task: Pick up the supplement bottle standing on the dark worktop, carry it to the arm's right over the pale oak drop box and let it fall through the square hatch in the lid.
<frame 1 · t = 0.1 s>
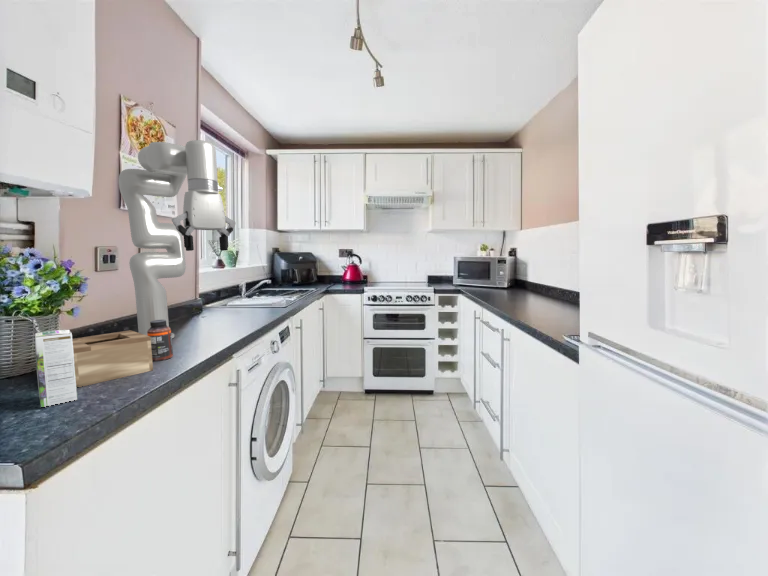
hand: (207, 250, 104), 31 cm above the countertop, tool pointing down, fingers open, 9 cm apart
syrup box: (59, 401, 77), on the countertop
supplement bottle: (161, 359, 109), on the countertop
drop box: (107, 373, 96), on the countertop
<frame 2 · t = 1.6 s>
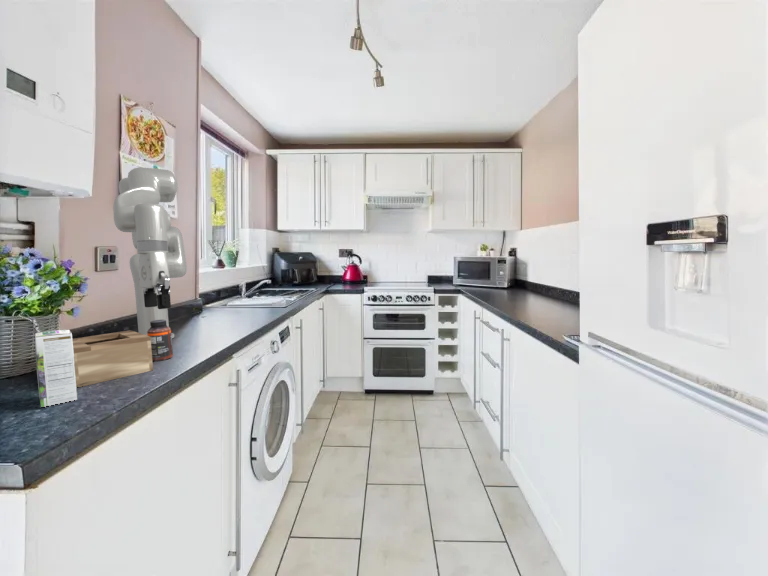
hand: (157, 307, 107), 15 cm above the countertop, tool pointing down, fingers open, 9 cm apart
nothing on the countertop moved.
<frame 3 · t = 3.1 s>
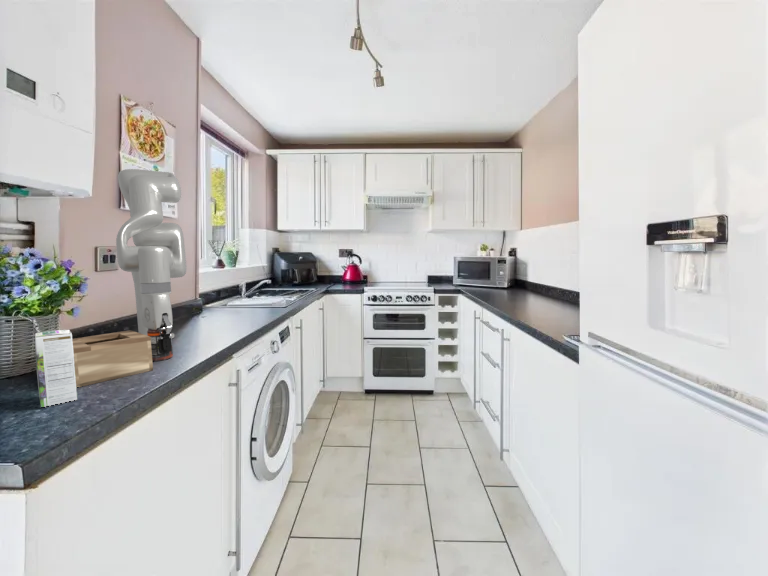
hand: (160, 349, 109), 3 cm above the countertop, tool pointing down, fingers closed on supplement bottle, 6 cm apart
supplement bottle: (161, 359, 109), on the countertop, touching gripper
everything else where it was.
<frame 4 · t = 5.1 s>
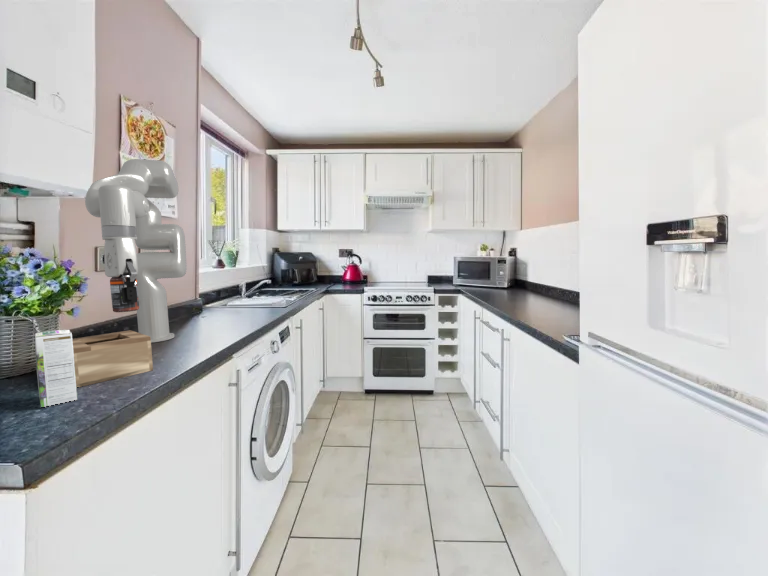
hand: (125, 301, 99), 18 cm above the countertop, tool pointing down, fingers closed on supplement bottle, 6 cm apart
supplement bottle: (126, 311, 99), point 15 cm above the countertop, touching gripper
everything else where it was.
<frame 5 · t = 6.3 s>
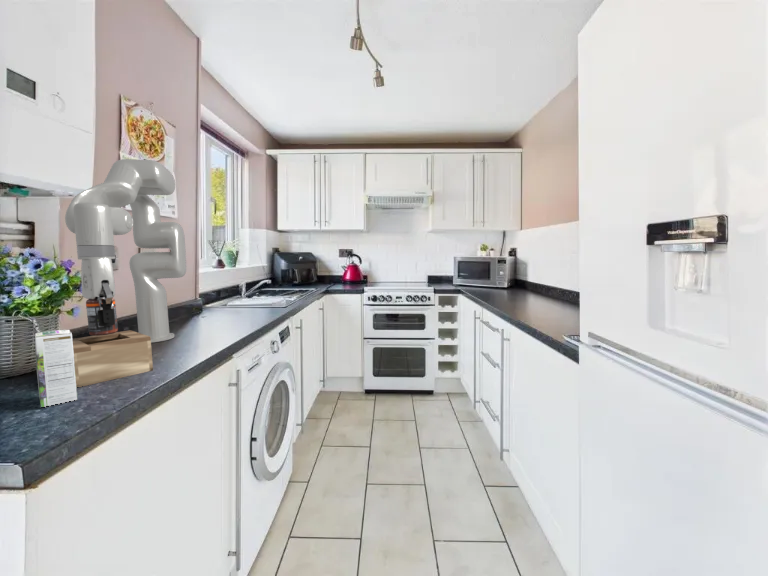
hand: (102, 323, 95), 13 cm above the countertop, tool pointing down, fingers closed on supplement bottle, 6 cm apart
supplement bottle: (103, 334, 95), point 10 cm above the countertop, touching gripper
everything else where it was.
when the fingers open (10 cm above the countertop, at t = 7.3 s): supplement bottle drops 6 cm, resting on drop box.
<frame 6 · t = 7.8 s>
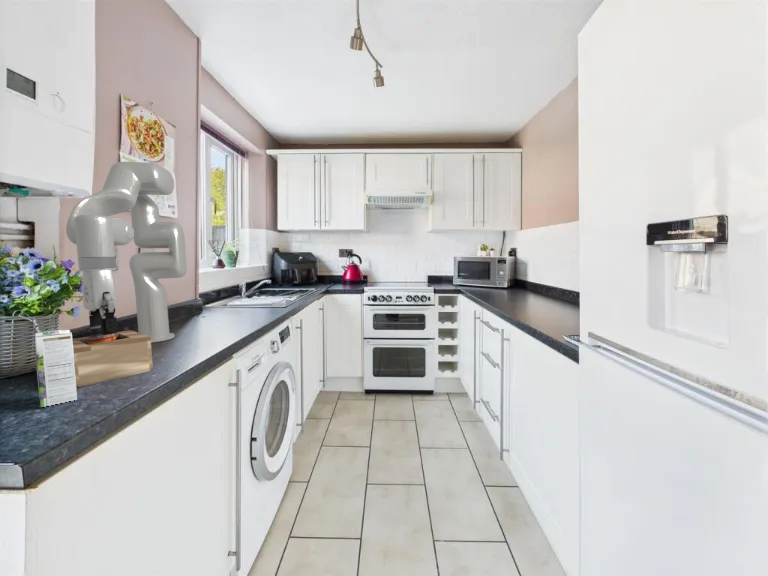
hand: (103, 331, 95), 11 cm above the countertop, tool pointing down, fingers open, 9 cm apart
supplement bottle: (107, 369, 96), point 1 cm above the countertop, touching drop box
everything else where it was.
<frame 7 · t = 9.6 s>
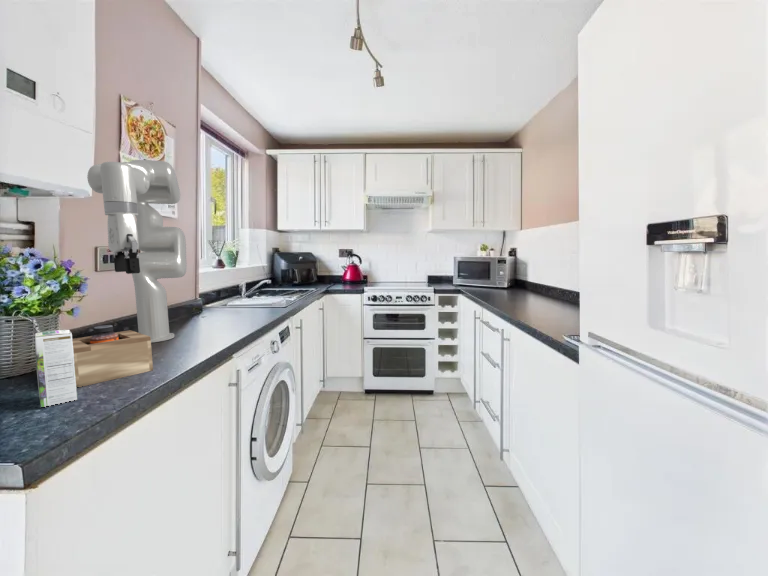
hand: (127, 272, 103), 26 cm above the countertop, tool pointing down, fingers open, 9 cm apart
nothing on the countertop moved.
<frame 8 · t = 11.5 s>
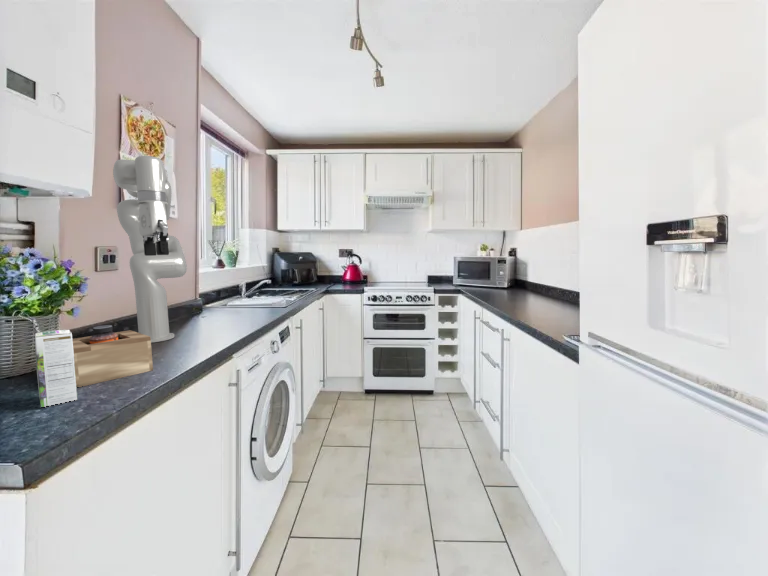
hand: (156, 255, 115), 30 cm above the countertop, tool pointing down, fingers open, 9 cm apart
nothing on the countertop moved.
at the end: supplement bottle inside the target area on the drop box (0.6 cm from its centre), point 0.6 cm above the drop box's base; the gripper is holding nothing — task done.
